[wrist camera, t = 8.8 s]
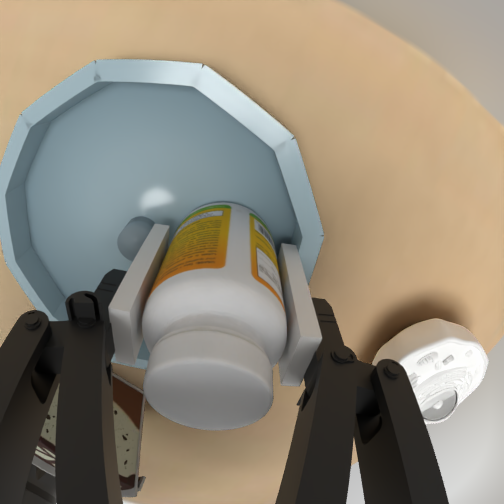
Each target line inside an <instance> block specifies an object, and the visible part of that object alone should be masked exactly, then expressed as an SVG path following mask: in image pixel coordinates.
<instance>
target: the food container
mask: <svg viewBox="0 0 504 504" xmlns="http://www.w3.org/2000/svg"><path fill="white" fill-rule="evenodd" d="M112 384H113V413H114V430H115V443H116V454H117V463H118V472H119V480H120V488H121V495H122V497H136V496H137V491H141V488H142V486H143V483H144V480H145V478H146V477H145V476H142V477H138V475H139V461H140V449H141V438H142V428H143V418H144V409H145V401H146V398H145V395H144V391H143V390H141V389H139V388H138V387H136V386H134V385H133V384H131V383H129V382H128V381H126V380H124V379H123V378H121V377H119V376H118V375H116V374H115V373H113V372H112ZM58 393H59V385H58V388H57V390H56V393H55V396H54V398H53V401H52V404H51V406H50V409H49V412H48V415H47V417H46V420H45V423H44V426H43V429H42V432H41V435H40V438H39V441H38V445H37V448H36V451H35V454H34V458H33V461H32V464H34V465H35V466H37V467H39V468H40V469H42V470H44V471H45V472H47V473H49V474H51V475H53V476H55V439H56V418H57V404H58Z"/></svg>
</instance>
